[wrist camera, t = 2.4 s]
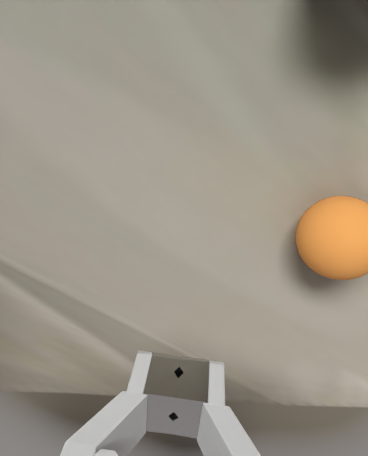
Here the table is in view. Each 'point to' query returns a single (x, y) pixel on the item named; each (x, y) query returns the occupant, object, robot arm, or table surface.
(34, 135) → the table surface
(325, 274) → the ball
